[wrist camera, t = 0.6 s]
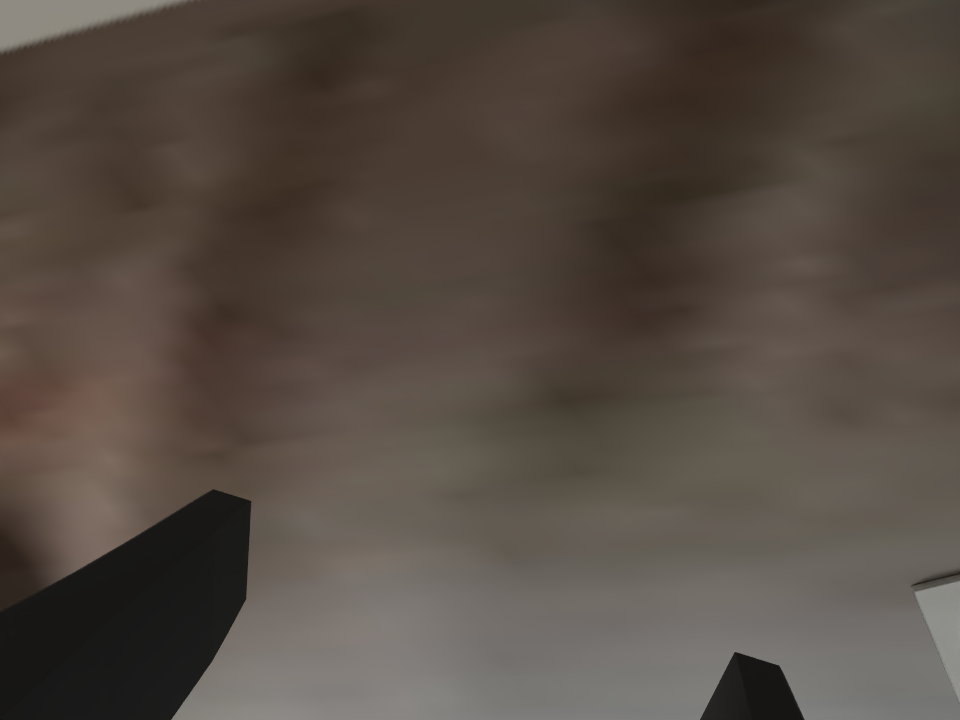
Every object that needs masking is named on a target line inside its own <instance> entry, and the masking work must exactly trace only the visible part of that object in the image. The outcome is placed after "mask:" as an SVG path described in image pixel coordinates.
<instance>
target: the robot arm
mask: <svg viewBox="0 0 960 720" xmlns="http://www.w3.org/2000/svg"><path fill="white" fill-rule="evenodd" d="M250 514H251V501H249V500H246V499H243V498H239V497H236V496H233V495H230V494H227V493H223V492H220V491H217V490H214V489H213V490H211V491H210V492H208V493H206V494H204V495H202V496H201V497H199V498H197V499H196V500H194V501H192V502H191V503H189V504H188V505H186V506H184V507H183V508H181V509H179V510H178V511H176V512H175V513H173V514H171V515H170V516H168V517H166V518H165V519H163V520H162V521H160V522H158V523H157V524H155V525H153V526H152V527H150V528H149V529H147V530H145V531H144V532H142V533H140V534H139V535H137V536H135V537H134V538H132V539H130V540H129V541H127V542H125V543H124V544H122V545H120V546H119V547H117V548H115V549H113V550H112V551H110V552H108V553H107V554H105V555H103V556H101V557H100V558H98V559H96V560H95V561H93V562H91V563H89V564H88V565H86V566H84V567H83V568H81V569H79V570H77V571H76V572H74V573H72V574H70V575H68V576H67V577H65V578H63V579H61V580H59V581H57V582H55V583H54V584H52V585H50V586H48V587H46V588H44V589H42V590H40V591H38V592H37V593H35V594H33V595H31V596H29V597H27V598H25V599H23V600H21V601H20V602H18V603H16V604H14V605H12V606H10V607H8V608H6V609H4V610H2V611H0V720H171V719H172V718H173V716H174V715H175V713H176V712H177V711H178V709H179V708H180V706H181V705H182V704H183V702H184V701H185V699H186V698H187V696H188V695H189V694H190V692H191V691H192V689H193V688H194V686H195V685H196V684H197V682H198V681H199V679H200V678H201V676H202V675H203V674H204V672H205V671H206V669H207V668H208V666H209V665H210V663H211V662H212V660H213V659H214V657H215V655H216V653H217V652H218V650H219V648H220V646H221V644H222V643H223V641H224V639H225V637H226V636H227V634H228V632H229V630H230V628H231V626H232V624H233V623H234V621H235V619H236V617H237V615H238V613H239V611H240V609H241V607H242V606H243V604H244V602H245V600H246V590H247V571H248V552H249V533H250ZM700 720H804V718H803V715H802V713H801V711H800V709H799V707H798V704H797V702H796V700H795V698H794V696H793V693H792V691H791V689H790V687H789V684H788V682H787V680H786V678H785V676H784V674H783V672H782V670H781V668H780V666H778V665H775V664H772V663H769V662H766V661H762V660H759V659H756V658H753V657H749V656H746V655H743V654H740V653H737V652H735V653H734V655H733V657H732V659H731V660H730V662H729V664H728V666H727V668H726V670H725V672H724V674H723V676H722V678H721V680H720V682H719V684H718V686H717V688H716V690H715V692H714V694H713V696H712V698H711V699H710V701H709V703H708V705H707V707H706V709H705V711H704V713H703V715H702V717H701V719H700Z"/></svg>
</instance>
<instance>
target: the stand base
mask: <svg viewBox="0 0 960 720" xmlns="http://www.w3.org/2000/svg"><path fill="white" fill-rule="evenodd" d="M911 589H912V591H913V594H914V596H915V598H916V601H917V603H918V606H919V608H920V611H921V613H922V615H923V618H924V620H925V623H926V625H927V628H928V630H929V632H930V635H931V637H932V640H933V642H934V644H935V647H936V649H937V652H938V654H939V657H940V659H941V661H942V664H943V666H944V669H945V671H946V674H947V676H948V678H949V681H950V683H951V686H952V688H953V691H954V693H955V695H956V698H957V700H958V703H959V705H960V574H958V575H954V576H950V577H946V578H942V579H938V580H934V581H929V582H925V583H921V584H917V585H913V586H911Z"/></svg>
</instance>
